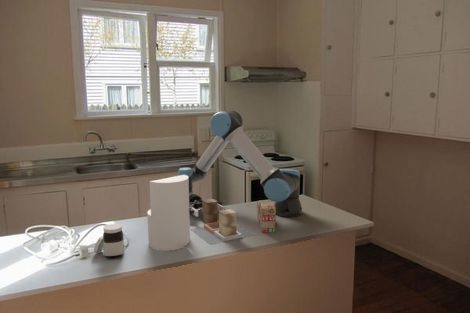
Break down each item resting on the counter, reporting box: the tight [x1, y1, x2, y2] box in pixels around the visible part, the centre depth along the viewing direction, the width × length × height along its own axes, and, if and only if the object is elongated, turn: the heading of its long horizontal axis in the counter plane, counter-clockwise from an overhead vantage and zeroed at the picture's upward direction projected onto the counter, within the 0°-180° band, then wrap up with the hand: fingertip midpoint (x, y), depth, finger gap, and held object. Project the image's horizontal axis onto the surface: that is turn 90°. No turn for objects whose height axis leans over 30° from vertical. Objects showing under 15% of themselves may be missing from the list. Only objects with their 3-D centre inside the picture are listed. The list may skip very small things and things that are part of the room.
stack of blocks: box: [256, 199, 277, 233], centre depth 188 cm, size 21×6×12 cm, turn 2°
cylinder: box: [146, 175, 191, 252], centre depth 166 cm, size 17×17×28 cm
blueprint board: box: [190, 221, 256, 245], centre depth 178 cm, size 22×20×2 cm
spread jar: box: [93, 223, 125, 260], centre depth 155 cm, size 12×11×12 cm
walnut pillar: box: [202, 198, 219, 224], centre depth 192 cm, size 6×6×11 cm
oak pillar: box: [218, 208, 237, 237], centre depth 173 cm, size 6×6×11 cm
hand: (210, 211), depth 191 cm, fingers open, 13 cm apart
